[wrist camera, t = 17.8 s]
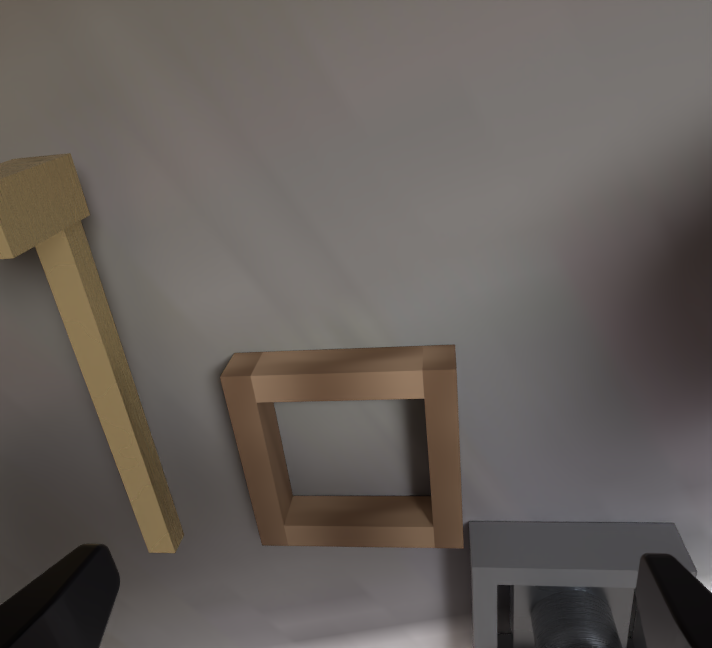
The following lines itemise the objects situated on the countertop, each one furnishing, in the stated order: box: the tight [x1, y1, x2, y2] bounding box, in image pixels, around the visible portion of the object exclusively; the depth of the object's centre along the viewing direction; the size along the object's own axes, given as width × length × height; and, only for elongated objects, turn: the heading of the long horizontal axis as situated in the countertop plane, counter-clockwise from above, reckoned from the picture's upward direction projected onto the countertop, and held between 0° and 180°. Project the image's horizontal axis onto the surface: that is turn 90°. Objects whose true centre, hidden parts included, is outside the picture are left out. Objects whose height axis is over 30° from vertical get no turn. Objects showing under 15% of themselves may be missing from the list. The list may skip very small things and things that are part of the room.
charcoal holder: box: [469, 522, 697, 648], centre depth 27 cm, size 9×9×2 cm
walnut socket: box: [220, 345, 464, 548], centre depth 24 cm, size 9×9×2 cm
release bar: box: [0, 153, 184, 553], centre depth 21 cm, size 2×16×4 cm, turn 6°
